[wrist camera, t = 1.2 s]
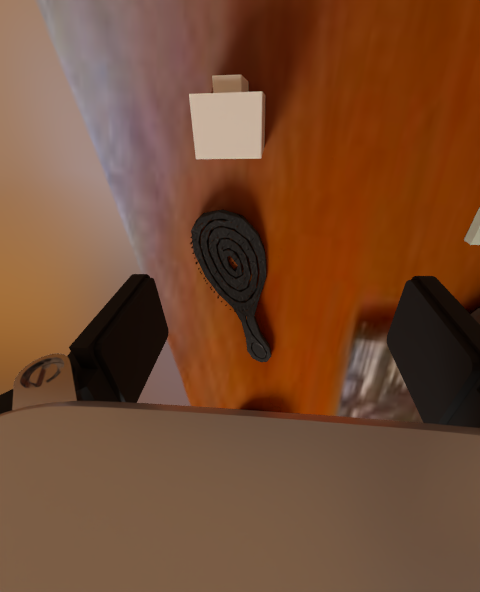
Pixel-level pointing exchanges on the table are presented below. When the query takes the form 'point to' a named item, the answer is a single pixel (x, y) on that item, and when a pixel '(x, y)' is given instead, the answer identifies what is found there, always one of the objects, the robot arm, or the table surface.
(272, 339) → the table surface
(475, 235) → the socket board
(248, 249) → the hairbrush
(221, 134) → the keyed plug
